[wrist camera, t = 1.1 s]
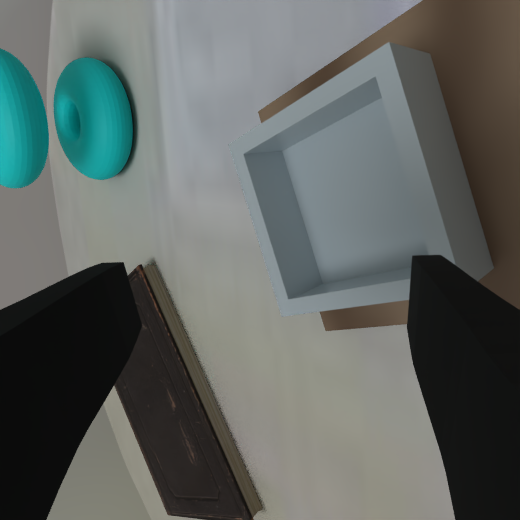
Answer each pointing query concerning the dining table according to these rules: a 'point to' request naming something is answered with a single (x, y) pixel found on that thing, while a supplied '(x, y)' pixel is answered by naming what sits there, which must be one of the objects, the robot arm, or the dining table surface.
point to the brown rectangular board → (457, 124)
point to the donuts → (63, 121)
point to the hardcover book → (179, 415)
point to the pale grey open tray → (359, 186)
